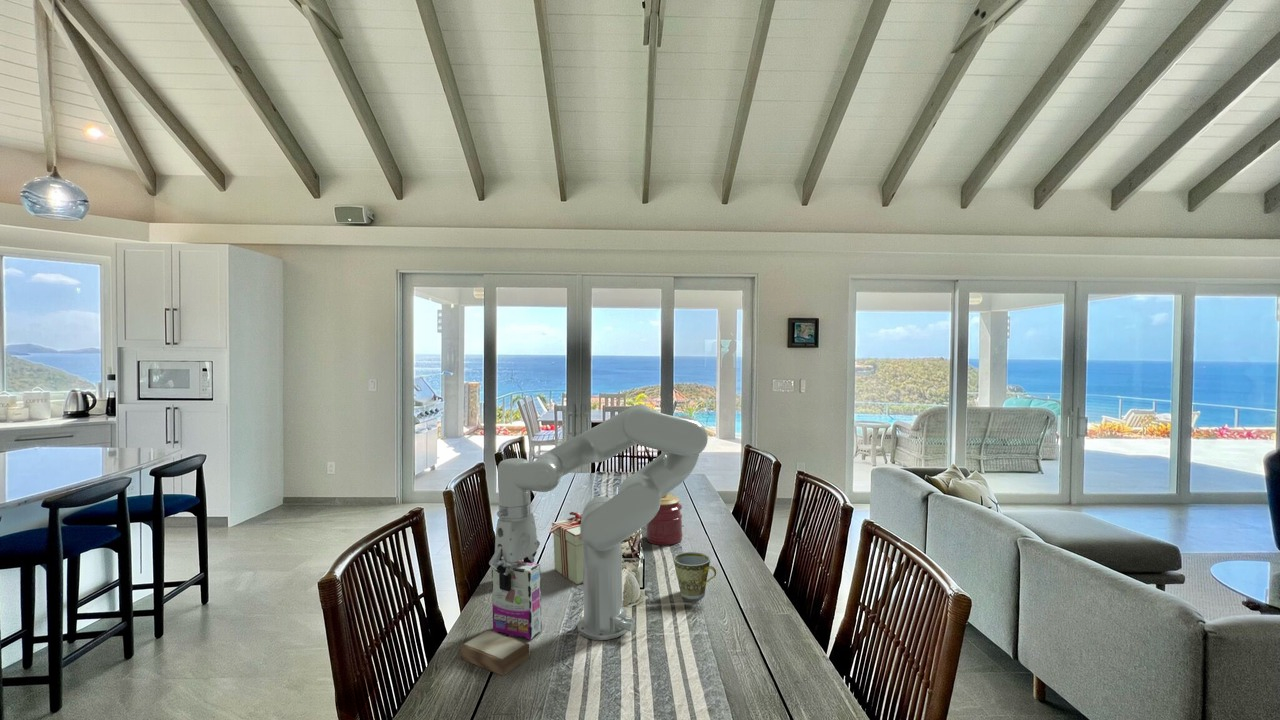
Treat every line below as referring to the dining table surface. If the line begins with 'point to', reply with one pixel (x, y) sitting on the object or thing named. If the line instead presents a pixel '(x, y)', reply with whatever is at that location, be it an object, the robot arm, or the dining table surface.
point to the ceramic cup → (692, 573)
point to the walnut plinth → (494, 652)
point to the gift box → (568, 548)
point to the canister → (666, 523)
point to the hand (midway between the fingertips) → (516, 583)
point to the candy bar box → (518, 601)
